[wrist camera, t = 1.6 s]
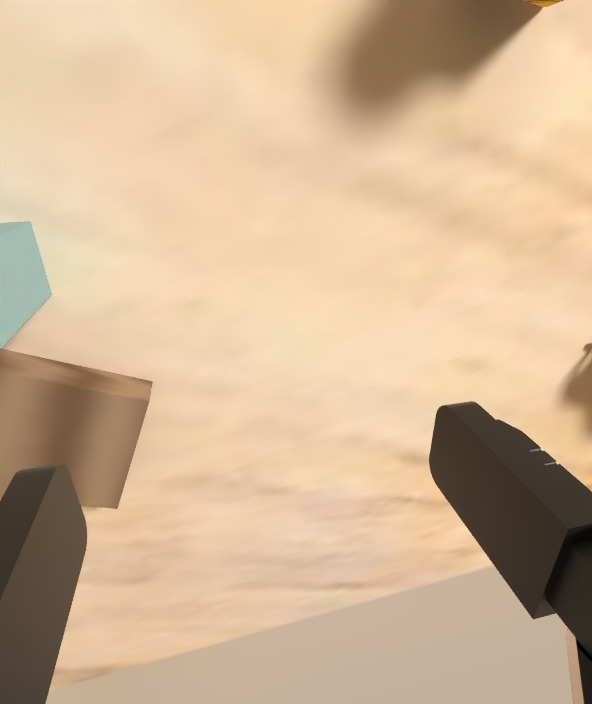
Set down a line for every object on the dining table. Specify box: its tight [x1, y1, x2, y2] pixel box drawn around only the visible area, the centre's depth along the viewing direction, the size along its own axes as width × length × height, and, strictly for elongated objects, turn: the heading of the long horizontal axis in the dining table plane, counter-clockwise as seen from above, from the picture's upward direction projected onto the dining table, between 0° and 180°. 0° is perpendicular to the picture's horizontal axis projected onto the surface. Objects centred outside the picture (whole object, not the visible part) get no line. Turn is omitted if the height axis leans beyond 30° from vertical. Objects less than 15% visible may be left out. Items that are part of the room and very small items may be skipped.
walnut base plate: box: [0, 349, 152, 509], centre depth 33 cm, size 11×11×3 cm
